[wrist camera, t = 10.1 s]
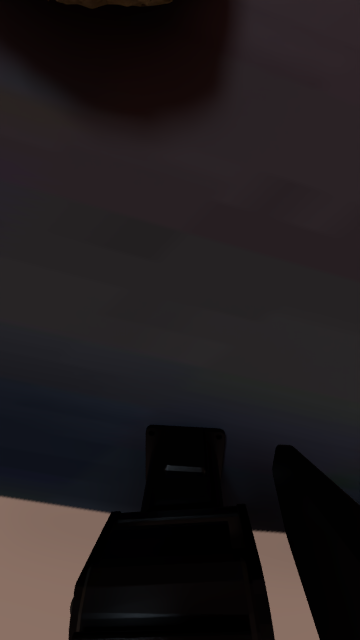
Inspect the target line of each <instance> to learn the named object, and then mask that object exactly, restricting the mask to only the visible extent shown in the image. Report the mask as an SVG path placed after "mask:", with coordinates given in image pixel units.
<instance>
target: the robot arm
mask: <svg viewBox="0 0 360 640" xmlns="http://www.w3.org/2000/svg"><path fill="white" fill-rule="evenodd" d="M150 431H154V432H150ZM217 435H220V436H217ZM224 444H225V433H224V431H223V430H222V429H217V428H199V427H181V426H164V425H149V426H148V427H147V430H146V485H145V491H144V496H143V502H142V507H141V512H128V513H121V512H120V511H116V512H111V514H110V516H109V518H108V520H107V522H106V524H105V526H104V528H103V530H102V532H101V534H100V536H99V538H98V540H97V542H96V544H95V546H94V548H93V550H92V552H91V554H90V556H89V558H88V560H87V562H86V564H85V566H84V568H83V570H82V572H81V574H80V576H79V578H78V580H77V582H76V585H75V589H74V597H73V599H72V602H71V606H70V614H71V617H70V626H69V640H275V639H274V632H273V625H272V619H271V613H270V607H269V602H268V596H267V591H266V586H265V581H264V576H263V571H262V567H261V563H260V559H259V555H258V551H257V548H256V543H255V540H254V536H253V532H252V528H251V524H250V521H249V517H248V513H247V509H246V505H245V504H237V506H231V507H223V499H222V491H221V483H220V481H221V472H222V462H223V453H224ZM272 470H273V477H274V482H275V486H276V491H277V495H278V500H279V504H280V509H281V513H282V518H283V522H284V527H285V531H286V535H287V538H288V542H289V545H290V548H291V551H292V555H293V558H294V560H295V564H296V567H297V570H298V573H299V576H300V579H301V582H302V585H303V588H304V592H305V595H306V598H307V601H308V604H309V607H310V610H311V613H312V616H313V620H314V623H315V626H316V629H317V632H318V635H319V638H320V640H360V505H359V504H358V503H357V502H356V501H354V500H353V499H352V498H351V497H350V496H349V495H348V494H346V493H345V492H344V491H343V490H342V489H341V488H340V487H338V486H337V485H336V484H335V483H334V482H333V481H332V480H331V479H329V478H328V477H327V476H326V475H325V474H324V473H323V472H321V471H320V470H319V469H318V468H317V467H316V466H315V465H314V464H312V463H311V462H310V461H309V460H308V459H307V458H306V457H304V456H303V455H302V454H301V453H300V452H299V451H298V450H296V449H295V448H294V447H293V446H291V445H277V447H276V450H275V456H274V461H273V469H272Z"/></svg>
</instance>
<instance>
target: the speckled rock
mask: <svg viewBox="0 0 360 640" xmlns="http://www.w3.org/2000/svg"><path fill="white" fill-rule="evenodd" d="M47 1H49V0H47ZM56 1H58V2H60V3H64V4H66V5H67V4H79V5H82V6H85V7H88V8H90V9H94V8H97V7H100V6H103V5H106V4H118V5H122V6H126V7H129V6H131V5H132V6H140V7H143V6H156V5H162V4H168V3H170V2H172V1H173V0H56Z"/></svg>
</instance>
